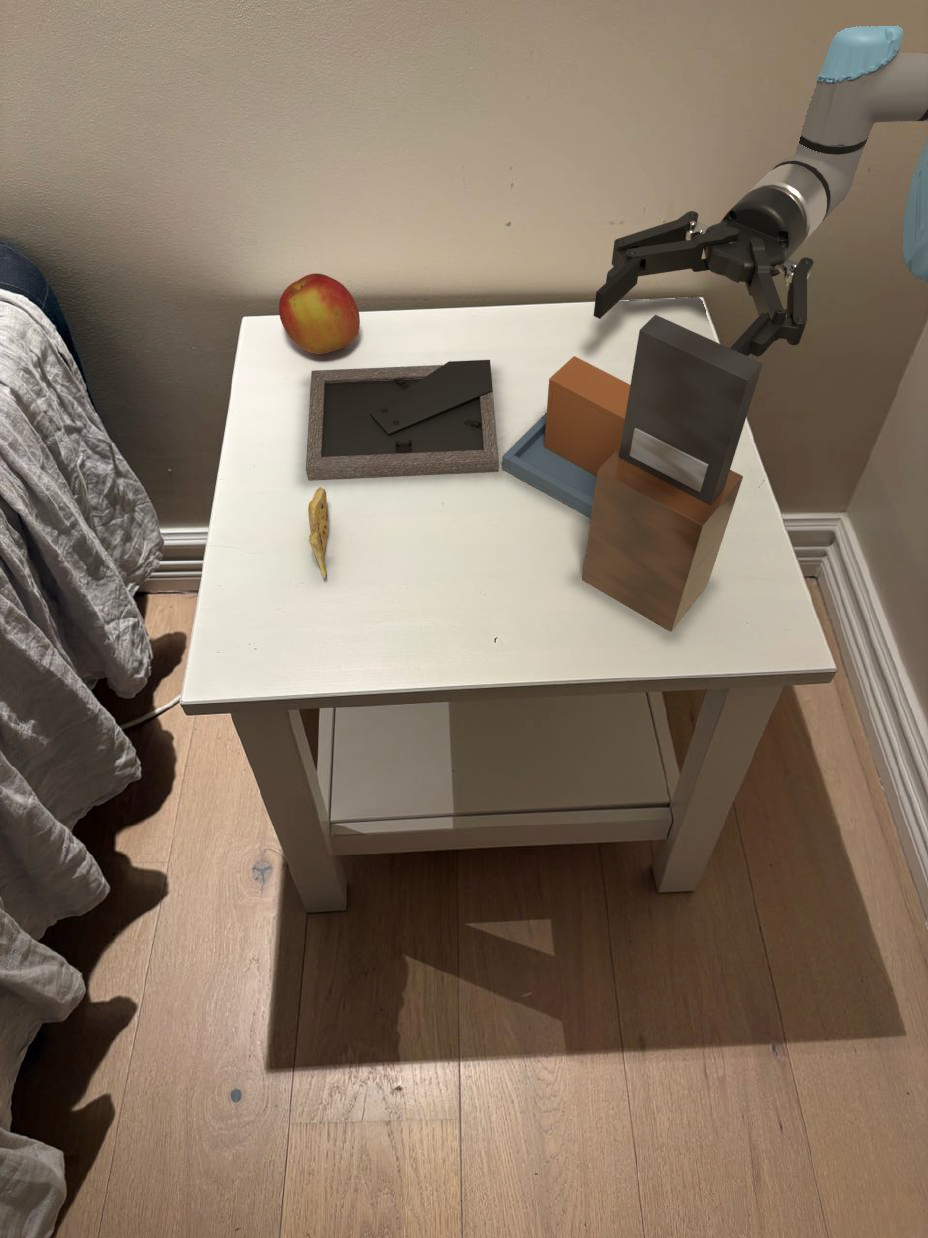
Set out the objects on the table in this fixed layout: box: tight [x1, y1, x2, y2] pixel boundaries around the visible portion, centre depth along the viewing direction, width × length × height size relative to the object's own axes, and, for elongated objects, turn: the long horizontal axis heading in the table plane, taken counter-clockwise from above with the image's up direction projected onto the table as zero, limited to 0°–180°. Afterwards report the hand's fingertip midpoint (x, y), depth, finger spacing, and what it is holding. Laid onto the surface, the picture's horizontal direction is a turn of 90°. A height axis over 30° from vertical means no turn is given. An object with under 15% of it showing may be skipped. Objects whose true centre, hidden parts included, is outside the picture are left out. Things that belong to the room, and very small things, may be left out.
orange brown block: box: [544, 355, 631, 477], centre depth 88 cm, size 10×4×9 cm, turn 51°
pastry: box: [307, 486, 329, 579], centre depth 85 cm, size 9×2×5 cm, turn 4°
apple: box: [278, 273, 361, 355], centre depth 98 cm, size 8×8×8 cm
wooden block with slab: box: [581, 314, 764, 632], centre depth 73 cm, size 9×6×26 cm, turn 52°
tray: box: [501, 412, 597, 519], centre depth 91 cm, size 14×12×2 cm
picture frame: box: [305, 359, 500, 481], centre depth 94 cm, size 13×2×18 cm
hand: (660, 334), depth 88 cm, fingers open, 13 cm apart
